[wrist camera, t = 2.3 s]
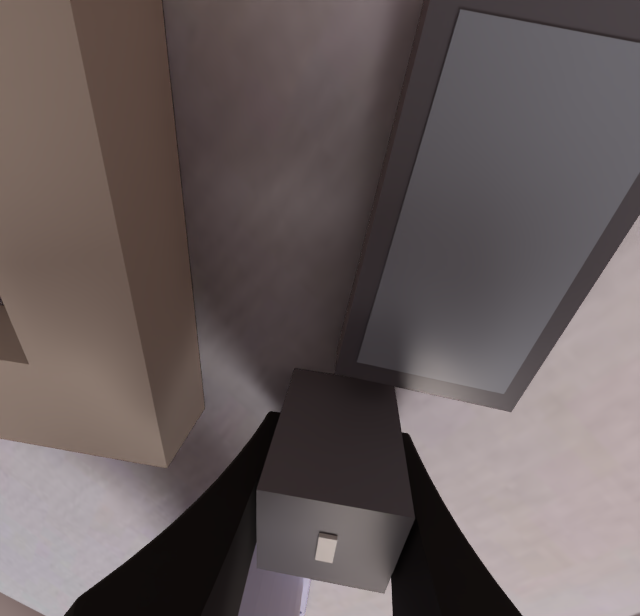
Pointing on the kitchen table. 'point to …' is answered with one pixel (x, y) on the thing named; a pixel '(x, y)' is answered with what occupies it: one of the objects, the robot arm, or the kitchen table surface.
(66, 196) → the outlet plate
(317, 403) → the block
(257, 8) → the kitchen table surface
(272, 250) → the kitchen table surface
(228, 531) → the robot arm
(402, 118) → the phone
